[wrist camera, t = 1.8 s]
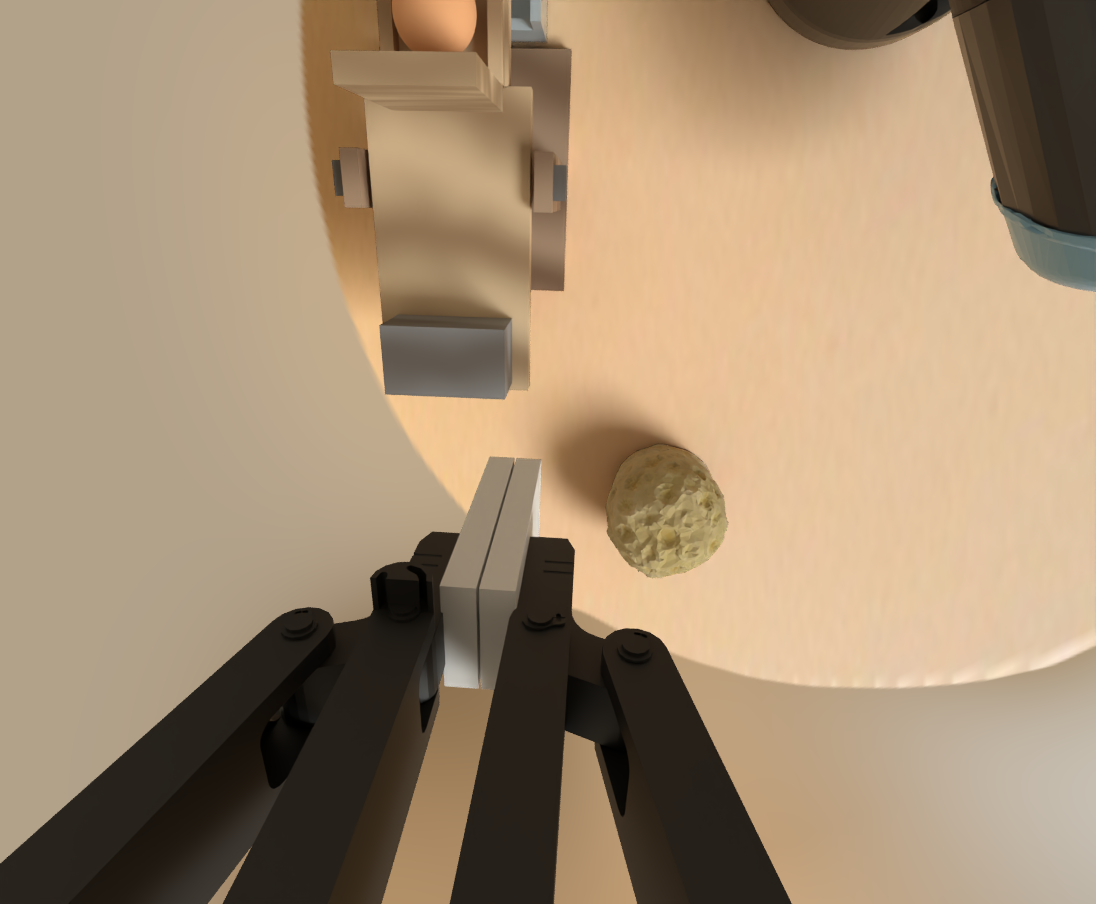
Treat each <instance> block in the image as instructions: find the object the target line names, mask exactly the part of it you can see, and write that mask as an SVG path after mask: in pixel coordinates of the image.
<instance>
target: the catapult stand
mask: <svg viewBox="0 0 1096 904" xmlns="http://www.w3.org/2000/svg"><path fill="white" fill-rule="evenodd" d="M571 54H572V51H571V49H525V48H511V86H519V87H532V89H533V145H532V234H531V290H550V291H564V272H565V241H566V210H567V178H568V147H569V116H570V85H571ZM339 154H340V160H332V166H333V176H334V185H335V195H336V196H344V204H345V207H349V208H372V207H373V201H372V189H371V177H370V165H369V153H368V150H365V149H360V148H342V147H339Z"/></svg>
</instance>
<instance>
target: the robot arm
mask: <svg viewBox="0 0 1096 904" xmlns="http://www.w3.org/2000/svg"><path fill="white" fill-rule="evenodd" d="M768 1H769V3H770V4H771V6H772V7H773V9H774V10H775V11H776V13H777V14H778V15H779V16H780V17H781V18H782V19H783V20H784V21H785V22H786V23H787V24H788V25H789V26H790V27H791V28H793V29H794V30H795V31H796V32H798V33H799V34H801V35H802V36H804V37H806V38H808V39H810V40H812V41H814V42H816V43H819V44H822V45H825V46H828V47H833V48H838V49H847V50H859V49H869V48H876V47H880V46H884V45H888V44H891V43H894V42H897V41H899V40H902V39H904V38H906V37H908V36H910V35H912V34H914V33H916V32H918V31H920V30H922V29H924V28H926V27H928V26H930V25H931V24H933V23H935V22H937V21H938V20H940V19H941V18H943V17H944V16H946V15H947V14H949V13H950V12H952V18H953V22H954V26H955V30H956V34H957V38H958V41H959V45H960V49H961V53H962V57H963V61H964V64H965V68H966V72H967V76H968V80H969V84H970V87H971V91H972V95H973V99H974V103H975V107H976V110H977V114H978V118H979V122H980V126H981V130H982V133H983V137H984V141H985V145H986V149H987V153H988V156H989V160H990V164H991V168H992V172H993V178H992V180H991V193H992V198H993V201H994V203H995V204H996V205H997V206H998V208H999V210H1000V212H1001V213H1002V214H1003V215H1004V217H1005V220H1006V223H1007V226H1008V229H1009V232H1010V235H1011V239H1012V242H1013V245H1014V248H1015V250H1016V253H1017V254H1018V256H1019V257H1020V259H1021V260H1023V261H1024V262H1025V263H1026V265H1027V266H1028V267H1029V268H1030V269H1031V270H1032V271H1034V272H1035V273H1037V274H1038V275H1039V276H1041V277H1043V278H1045V279H1047V280H1049V281H1052V282H1054V283H1057V284H1060V285H1063V286H1067V287H1071V288H1075V289H1080V290H1086V291H1093V292H1096V0H768ZM953 16H954V17H953ZM540 488H541V459H524V458H516V462H515V465H514V458H506V457H489V460H488V463H487V465H486V468H485V470H484V473H483V475H482V478H481V481H480V483H479V486H478V488H477V491H476V493H475V496H474V499H473V501H472V504H471V506H470V509H469V511H468V514H467V517H466V519H465V522H464V524H463V527H462V529H461V532H460V533H445V532H431V533H430V534H429V535H427V536H426V537H425V538H424V539H422V540H421V541H420V542H419V544H418V546H417V548H416V550H415V552H414V556H412V558H411V560H410V562H397V563H394V564H390V565H386V566H384V567H382V568H381V569H379V570H377V571H376V572H375V573H374V574H373V575H372V577H371V578H370V580H371V590H372V599H373V611H372V613H371V615H370V616H369V617H367V618H364V619H360V620H356V621H349V622H343V623H336V624H334V622H333V618H332V617H331V615H330V614H329V612H327V611H324V610H322V609H320V608H311V607H307V608H300V609H295V610H292V611H290V612H287V613H284V614H282V615H281V616H279V617H278V618H276V619H275V620H274V621H272V622H271V623H270V624H269V625H268V626H267V627H265V628H264V629H263V630H262V631H261V632H260V633H259V634H258V635H256V636H255V637H254V638H253V639H252V640H251V641H250V642H249V643H248V644H246V645H245V646H244V647H243V648H242V649H241V650H240V651H239V652H237V653H236V654H235V655H234V656H233V657H232V658H231V659H230V660H228V661H227V662H226V663H225V664H224V665H223V666H222V667H221V668H220V669H218V670H217V671H216V672H215V673H214V674H213V675H212V676H210V677H209V678H208V679H207V680H206V681H205V682H204V683H203V684H202V685H200V687H198V688H197V689H196V690H195V691H194V692H192V693H191V694H190V695H189V696H188V697H187V698H186V699H185V700H183V701H182V702H181V703H180V704H179V705H178V706H177V707H176V708H175V709H173V710H172V711H171V712H170V713H169V714H168V715H167V716H166V717H164V719H162V720H161V721H160V722H159V723H158V724H157V725H155V726H154V727H153V728H152V729H151V730H150V731H149V732H148V733H147V734H145V735H144V736H143V737H142V738H141V739H140V740H139V741H137V742H136V743H135V744H134V745H133V746H132V747H131V748H130V749H129V750H127V751H126V752H125V753H124V754H123V755H122V756H121V757H119V758H118V759H117V760H116V761H115V762H114V763H113V764H112V765H111V766H109V767H108V768H107V769H106V770H105V771H104V772H103V773H102V774H100V775H99V776H98V777H97V778H96V779H95V780H94V781H93V782H91V783H90V784H89V785H88V786H87V787H86V788H85V789H84V790H82V791H81V792H80V793H79V794H78V795H77V796H76V797H75V798H73V800H71V801H70V802H69V803H68V804H67V805H66V806H64V807H63V808H62V809H61V810H60V811H59V812H58V813H57V814H55V815H54V816H53V817H52V818H51V819H50V820H49V821H48V822H47V823H45V824H44V825H43V826H42V827H41V828H40V829H39V830H38V831H36V832H35V833H34V834H33V835H32V836H31V837H30V838H29V839H27V841H25V842H24V843H23V844H22V845H21V846H20V847H19V848H17V849H16V850H15V851H14V852H13V853H12V854H11V855H10V856H8V857H7V858H6V859H5V860H4V861H3V862H2V863H0V904H208V902H209V901H210V900H211V898H212V897H213V896H214V895H215V893H216V892H217V891H218V889H219V888H220V886H221V885H222V884H223V883H224V882H225V880H226V879H227V878H228V876H229V875H230V874H231V872H232V871H233V870H234V869H235V867H236V866H237V865H238V863H239V862H240V861H241V859H242V858H243V857H244V856H245V854H246V853H247V852H248V850H249V849H250V848H251V846H252V848H251V849H250V851H249V853H248V855H247V857H246V859H245V861H244V863H243V865H242V867H241V869H240V871H239V873H238V875H237V877H236V879H235V881H234V883H233V885H232V886H231V888H230V890H229V892H228V894H227V896H226V898H225V900H224V902H223V904H381V903H382V900H383V896H384V893H385V890H386V886H387V883H388V879H389V876H390V872H391V869H392V866H393V862H394V859H395V855H396V852H397V848H398V844H399V841H400V837H401V834H402V831H403V828H404V824H405V821H406V817H407V814H408V811H409V807H410V804H411V800H412V797H413V793H414V790H415V786H416V783H417V780H418V776H419V773H420V769H421V766H422V762H423V759H424V756H425V752H426V749H427V745H428V742H429V738H430V734H431V731H432V728H433V725H434V721H435V717H436V714H437V711H438V707H439V697H440V695H439V684H440V680H441V677H442V674H443V671H444V682H445V686H452V687H464V688H478V687H479V682H480V678H481V689H490V690H494V694H493V698H492V703H491V708H490V713H489V718H488V723H487V727H486V732H485V737H484V742H483V746H482V752H481V756H480V761H479V766H478V771H477V775H476V780H475V785H474V790H473V794H472V799H471V804H470V809H469V814H468V819H467V823H466V828H465V833H464V838H463V842H462V847H461V852H460V857H459V862H458V866H457V872H456V876H455V881H454V886H453V890H452V896H451V900H450V904H554V894H555V877H556V862H557V846H558V830H559V814H560V798H561V797H560V796H561V782H562V766H563V750H564V737H565V731H568V732H570V733H573V734H576V735H578V736H581V737H583V738H586V739H589V740H591V741H594V742H595V751H596V755H597V758H598V762H599V765H600V769H601V773H602V776H603V780H604V784H605V787H606V791H607V795H608V798H609V802H610V805H611V809H612V813H613V817H614V820H615V824H616V827H617V831H618V835H619V839H620V842H621V846H622V849H623V853H624V857H625V860H626V864H627V868H628V871H629V875H630V879H631V882H632V886H633V890H634V893H635V897H636V901H637V904H791V901H790V899H789V897H788V895H787V893H786V891H785V889H784V887H783V885H782V883H781V881H780V879H779V877H778V875H777V873H776V870H775V868H774V866H773V864H772V862H771V860H770V858H769V856H768V854H767V852H766V850H765V848H764V846H763V844H762V842H761V840H760V838H759V836H758V834H757V832H756V830H755V827H754V825H753V823H752V822H751V819H750V818H749V815H748V813H747V811H746V809H745V807H744V805H743V803H742V801H741V799H740V797H739V795H738V793H737V791H736V789H735V787H734V784H733V782H732V780H731V778H730V776H729V774H728V772H727V770H726V768H725V766H724V764H723V762H722V760H721V758H720V756H719V754H718V752H717V750H716V748H715V746H714V744H713V742H712V740H711V737H710V735H709V733H708V731H707V729H706V727H705V725H704V723H703V721H702V719H701V717H700V715H699V713H698V711H697V709H696V707H695V705H694V703H693V701H692V698H691V696H690V694H689V692H688V690H687V688H686V686H685V684H684V682H683V680H682V678H681V676H680V674H679V672H678V670H677V668H676V666H675V664H674V662H673V660H672V658H671V655H670V653H669V651H668V649H667V647H666V646H665V645H664V643H663V642H662V641H661V640H660V639H659V638H658V637H656V636H655V635H653V634H651V633H650V632H646V631H643V630H640V629H628V628H625V629H621V630H617V631H614V632H613V633H611V634H610V635H608V636H607V637H606V639H603V638H599V637H597V636H594V635H592V634H589V633H587V632H586V631H584V630H583V629H581V628H580V627H579V626H578V625H577V624H576V623H575V621H574V619H573V617H572V593H573V574H574V556H575V550H574V548H573V547H572V545H571V543H570V542H569V540H568V539H562V538H546V537H539V523H540Z"/></svg>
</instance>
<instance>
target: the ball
mask: <svg viewBox="0 0 1096 904" xmlns="http://www.w3.org/2000/svg"><path fill="white" fill-rule="evenodd" d="M392 14H393V19H394V23H395V26H396V28H397V31H398V33H399V35H400V37H401V38H402V40H403V41H404V43H405V44H406V45H407V46H408V47H409V48H410V49H411V50H412V51H434V52H463V51H464V50H465V49H466V48H467V46H468V45H469V43H470V42H471V39H472V37H473V35H474V32H475V27H476V19H477V11H476V4H475V0H392Z"/></svg>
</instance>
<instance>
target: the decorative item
mask: <svg viewBox="0 0 1096 904" xmlns="http://www.w3.org/2000/svg"><path fill="white" fill-rule="evenodd" d="M606 514H607V522H608V529H607V534H608V536H609V537H610V540H611V541H612V542H613V544H614V545H615V547H616V548H617V549H618V551H619V552H620V554H621V556H622V557H623V558H624V559H625V561H626V562H628V564H629V565H630V566H631V567H635V568H636V569H637V570H638V572H639V571H641V572H643V573H644V574H645V575H646V576H647V577H649V578H662V577H665V576H670V575H674V574H677V573H678V574H679V573H685V572H687V571H689V570H691V569H693V568H695V567H697V566H699V565H701V564H702V563H704V562H705V561H707V560H709V558H710V557H711V556H712V555H713V554H714V553H715V552H716V550H717V549H718V548H719V546H720V545H721V543H722V542H723V540H724V533H725V532H726V530H727V527H728V521H727V518H726V513H725V501H724V495H723V494H722V493H721V491H720V489H719V487H718V485H717V484H716V482H715V481H714V480H713V479H712V477H711V474H710V471H709V469H708V468H707V466H706V465H705V464H704V463H703V461H702V460H700V459H699V458H697V457H696V456H695V455H694V454H692V453H690V452H689V451H686V450H683V449H680V448H676V447H672V446H667V445H663V444H656V445H653V446H651V447H649V448H644V449H642V450H638V451H636V452H635V453H634V454H632V455H631V456H629V457H628V458H627V459H626V460H625V461H624V462H623V463H622V464H621V466H620V468H619V470H618V472H617V474H616V478H615V481H614V482H613V484H612V488H611V490H610V492H609V495H608V500H607V504H606Z"/></svg>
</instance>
